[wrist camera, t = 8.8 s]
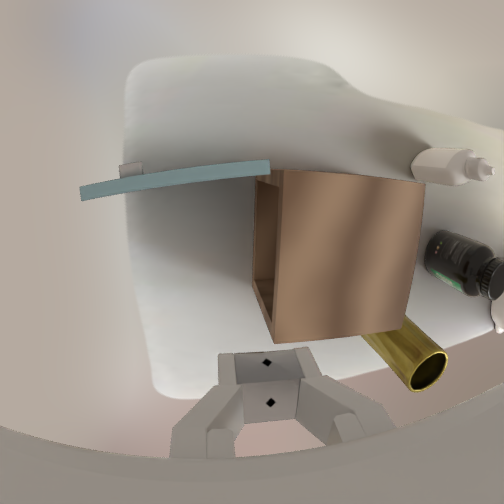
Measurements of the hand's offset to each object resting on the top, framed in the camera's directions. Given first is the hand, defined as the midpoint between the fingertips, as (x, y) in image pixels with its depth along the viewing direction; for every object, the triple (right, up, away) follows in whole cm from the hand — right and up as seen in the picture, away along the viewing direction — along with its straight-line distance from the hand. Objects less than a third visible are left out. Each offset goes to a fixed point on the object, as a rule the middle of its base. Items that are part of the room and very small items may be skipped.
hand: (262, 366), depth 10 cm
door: (-7, +12, +20) cm, 24 cm away
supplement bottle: (+26, +4, +28) cm, 39 cm away
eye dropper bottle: (+22, +15, +24) cm, 36 cm away
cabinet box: (+6, +6, +24) cm, 25 cm away
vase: (+15, -4, +28) cm, 32 cm away
